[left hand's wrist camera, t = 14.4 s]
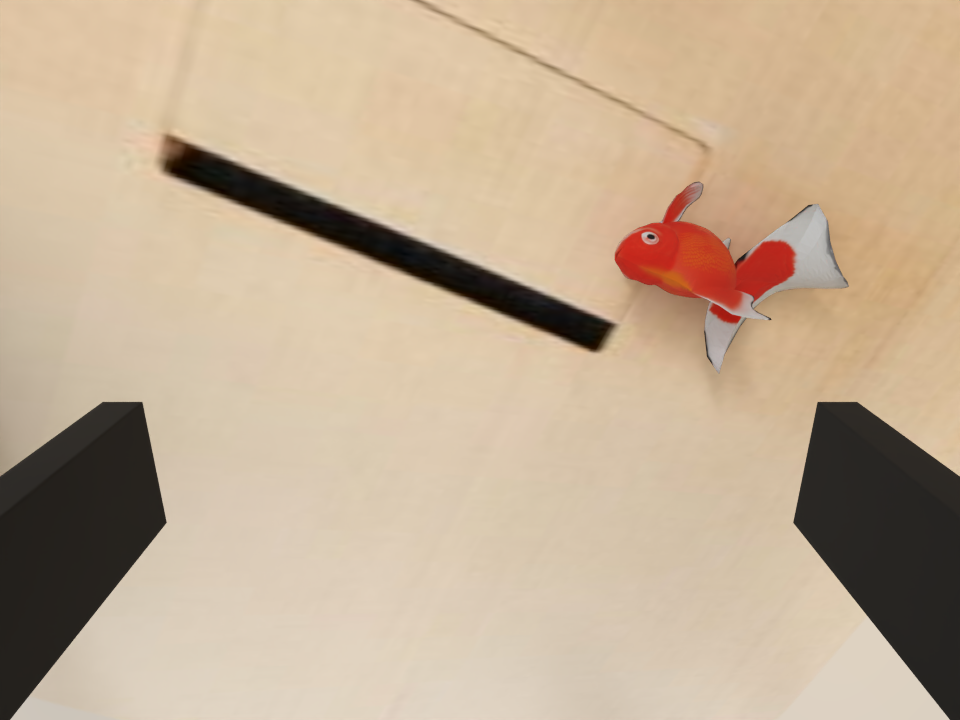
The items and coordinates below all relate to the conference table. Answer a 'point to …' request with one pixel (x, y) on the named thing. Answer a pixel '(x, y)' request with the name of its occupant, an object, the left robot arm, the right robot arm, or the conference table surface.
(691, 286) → the fish
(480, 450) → the conference table surface
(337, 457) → the conference table surface
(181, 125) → the conference table surface
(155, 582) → the conference table surface
